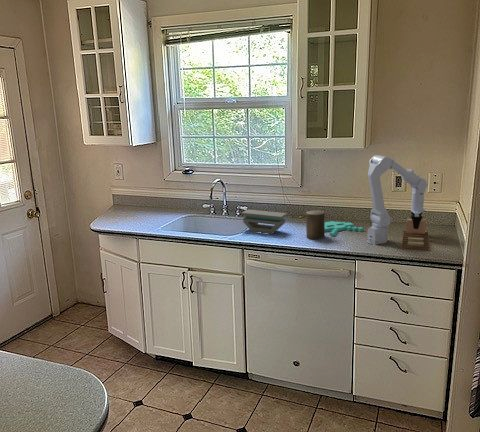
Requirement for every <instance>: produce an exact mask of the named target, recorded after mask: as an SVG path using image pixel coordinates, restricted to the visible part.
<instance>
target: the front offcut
mask: <svg viewBox="0 0 480 432" xmlns="http://www.w3.org/2000/svg"><path fill="white" fill-rule="evenodd" d="M408 245H418V246H423V245H424V243H423V242H408Z"/></svg>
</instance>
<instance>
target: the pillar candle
mask: <svg viewBox="0 0 480 432" xmlns="http://www.w3.org/2000/svg"><path fill="white" fill-rule="evenodd" d="M305 213H306V214H305V215H306V216H305V217H306V220H305V221H306V238H307V239H310V240H321V239H322V240H323V239H324V238H325V236H326V235H325V233H326V232H325V221H326V220H325V217H326V216H325V211H323V210H320V209H317V210H315V209H314V210H308V211H306V212H305Z"/></svg>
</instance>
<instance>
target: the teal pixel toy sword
mask: <svg viewBox="0 0 480 432" xmlns="http://www.w3.org/2000/svg"><path fill="white" fill-rule="evenodd" d="M341 231H349V232H351V231H353V232H364V227H361V226H360V227H357V226H355V224H354V223H352V222H344V221H334V220H332V221H326V222H325V233H326V232H327V233H328V232H329V236H330V237H332V238H333V237H336V235H337V234H338V233H339V232H341Z"/></svg>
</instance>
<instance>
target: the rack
mask: <svg viewBox="0 0 480 432" xmlns="http://www.w3.org/2000/svg"><path fill="white" fill-rule="evenodd" d="M408 237H410V238H423V243H424V245H423V246H418V245H408V242H422V241H408ZM430 245H431V242H430V235H429V232H428V231H425V234H421V233H406V230H403V233H402V235H401V244H400V250H407V251H420V252H431V246H430Z"/></svg>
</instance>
